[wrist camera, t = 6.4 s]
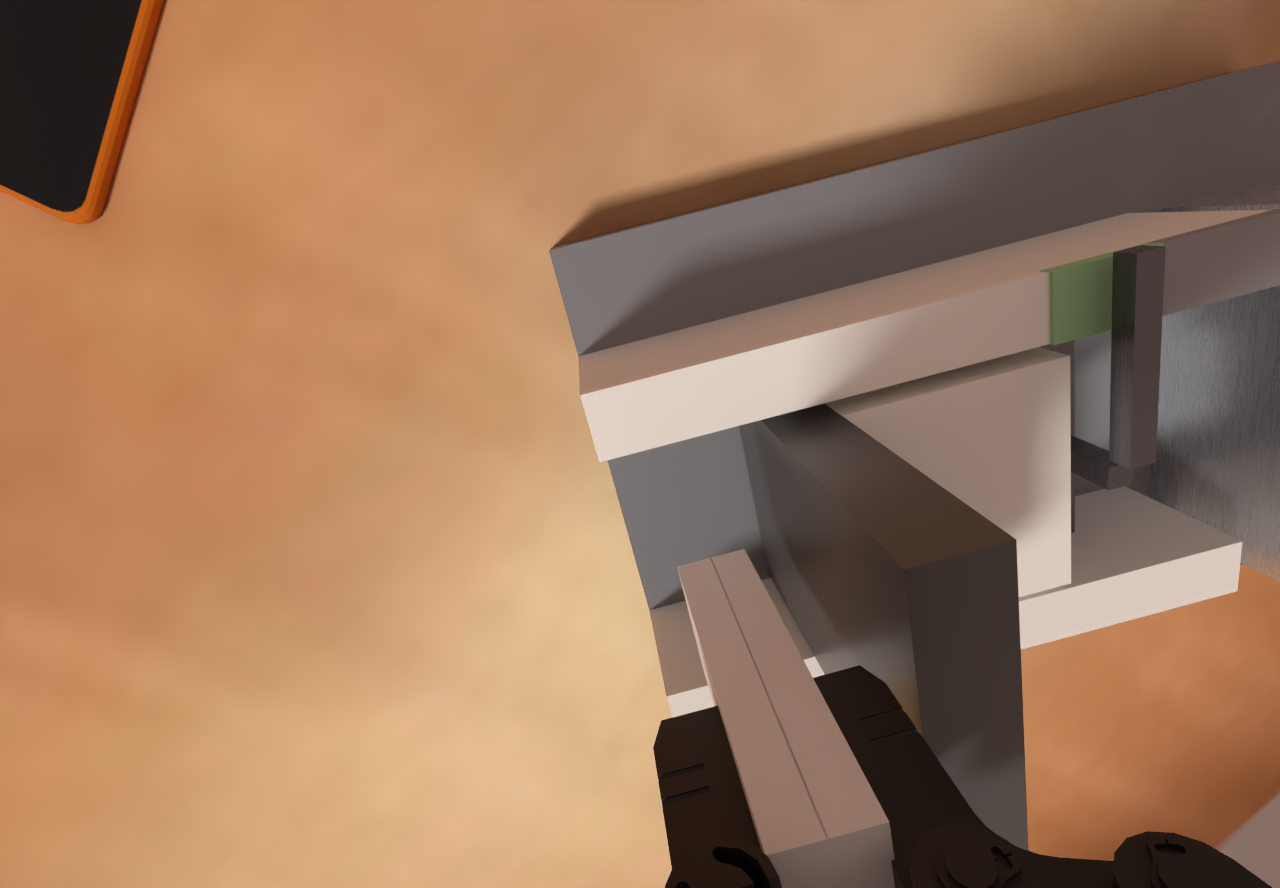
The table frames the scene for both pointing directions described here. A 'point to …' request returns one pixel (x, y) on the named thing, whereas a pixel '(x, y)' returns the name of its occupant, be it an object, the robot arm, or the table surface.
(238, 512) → the table surface
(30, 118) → the smartphone
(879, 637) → the plunger
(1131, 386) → the dark grey angular piece
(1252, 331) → the brushed metal slab
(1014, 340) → the bench
